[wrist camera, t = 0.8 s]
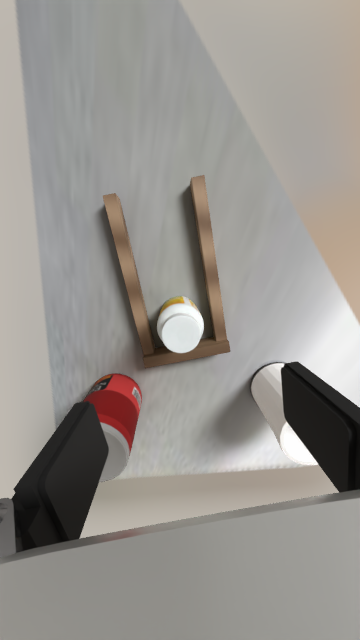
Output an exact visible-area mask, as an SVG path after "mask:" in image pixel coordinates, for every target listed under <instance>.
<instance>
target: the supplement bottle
mask: <svg viewBox="0 0 360 640" xmlns="http://www.w3.org/2000/svg"><path fill="white" fill-rule="evenodd" d="M203 330H204V322H203V318H202V316H201V314H200V312H199V311H198V309H197V307H196V305H195V304H194V303H193V302H192V301H191V300H190V299H188V298H186V297H182V296H176V297H173V298H170V299H169V300H167V301H166V302H165V303H164V305H163V306H162V308H161V311H160V315H159V318H158V322H157V331H158V334H159V337H160V338H161V340H162V341H163V343H164V345H165V346H166V347H167V348H168V349H169V350H171V351H173V352H176V353H186V352H189V351H191V350H193V349H194V348H195V347H196V346H197V345H198V343H199V341H200V338H201V336H202V334H203Z"/></svg>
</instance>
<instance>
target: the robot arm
mask: <svg viewBox="0 0 360 640" xmlns="http://www.w3.org/2000/svg"><path fill="white" fill-rule="evenodd" d="M281 382H282V397H283V411H284V417H285V419H286V421H287V423H288V424H289V425H290V427H291V428H292V429H293V431H294V432H295V433H296V435H297V436H298V437H299V439H300V440H301V441H302V443H303V444H304V445H305V447H306V448H307V449H308V451H309V452H310V453H311V455H312V456H313V458H314V459H315V460H316V462H317V463H318V464H319V466H320V467H321V468H322V470H323V471H324V472H325V474H326V475H327V476H328V478H329V479H330V480H331V482H332V483H333V484H334V486H335V487H336V488H337V490H338V491H339V492H340V493H333V494H327V495H321V496H314V497H309V498H303V499H296V500H291V501H286V502H279V503H273V504H268V505H262V506H256V507H251V508H245V509H239V510H233V511H228V512H222V513H217V514H211V515H205V516H200V517H194V518H189V519H183V520H178V521H172V522H168V523H161V524H156V525H150V526H145V527H140V528H134V529H129V530H123V531H118V532H113V533H107V534H102V535H97V536H91V537H86V538H81V539H79V538H80V535H81V532H82V529H83V526H84V523H85V520H86V518H87V515H88V512H89V509H90V506H91V503H92V500H93V497H94V494H95V492H96V488H97V486H98V483H99V480H100V477H101V474H102V471H103V468H104V466H105V463H106V460H107V457H108V453H109V447H108V444H107V441H106V438H105V435H104V432H103V429H102V426H101V423H100V420H99V418H98V415H97V412H96V409H95V406H94V404H93V403H90V402H89V401H85V402H79V403H76V404H75V405H74V406H73V407H72V409H71V410H70V412H69V413H68V414H67V416H66V417H65V419H64V420H63V421H62V423H61V424H60V425H59V427H58V428H57V430H56V431H55V432H54V434H53V435H52V437H51V438H50V439H49V441H48V442H47V443H46V445H45V446H44V448H43V449H42V451H41V452H40V453H39V455H38V456H37V457H36V459H35V460H34V461H33V463H32V464H31V466H30V467H29V469H28V470H27V471H26V473H25V474H24V475H23V477H22V478H21V479H20V481H19V483H18V484H17V485H16V487H15V488H14V491H15V494H14V496H13V498H12V499H9V498H2V499H0V640H360V408H359V407H358V406H357V405H355V404H354V403H353V402H351V401H350V400H349V399H347V398H346V397H345V396H343V395H342V394H340V393H339V392H338V391H336V390H335V389H334V388H332V387H331V386H330V385H328V384H327V383H326V382H324V381H323V380H322V379H320V378H319V377H318V376H316V375H315V374H314V373H312V372H311V371H310V370H308V369H307V368H306V367H304V366H303V365H301V364H300V363H299V362H291V363H286V364H284V367H282V368H281Z"/></svg>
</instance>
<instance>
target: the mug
mask: <svg viewBox="0 0 360 640" xmlns="http://www.w3.org/2000/svg"><path fill="white" fill-rule="evenodd" d="M284 364H286V363H281V362H275V363H270V364H267V365H265V366H263V367H262V368H260V369H259V370H258V371H257V372H256V373H255V374H254V376H253V378H252V381H251V386H250V387H251V393H252V396H253V398H254V399H255V401H256V403H257V405H258V406H259V408H260V410H261V411H262V413H263V415H264V417H265V418H266V420H267V422H268V424H269V425H270V427H271V429H272V430H273V432H274V434H275V436H276V438H277V441H278V443H279V445H280V447H281V449H282V451H283V452H284V454H285V455H286V456H287V457H288V458H289V459H291V460H292V461H294V462H296V463H300V464H303V465H317V464H318V463H317V462H316V460H315V459H314V458H313V456H312V455H311V453H310V452H309V451H308V449H307V448H306V447H305V445H304V444H303V443H302V441H301V440H300V439H299V437H298V436H297V435H296V433H295V432H294V431H293V429H292V428H291V427H290V425H289V424H288V423H287V421H286V419H285V417H284V411H283V397H282V382H281V368H282V367H284Z"/></svg>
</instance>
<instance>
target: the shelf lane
mask: <svg viewBox="0 0 360 640" xmlns="http://www.w3.org/2000/svg"><path fill="white" fill-rule="evenodd" d="M190 188H191V195H192V201H193V207H194V214H195V220H196V227H197V233H198V239H199V246H200V252H201V259H202V265H203V271H204V278H205V284H206V291H207V297H208V303H209V310H210V316H211V323H212V329H213V335H214V337H210V338H204V339H200V341H199V343H198V345H197V346H196V347H195V348H194V349H193V350H191V351H189V352H186V353H176V352H173V351H171V350H169V349H168V348H167V347H166V346H163V347H158V348H155V345H154V341H153V336H152V332H151V328H150V324H149V320H148V316H147V311H146V307H145V303H144V299H143V295H142V290H141V286H140V282H139V278H138V274H137V270H136V265H135V261H134V257H133V253H132V249H131V245H130V240H129V236H128V232H127V228H126V224H125V219H124V215H123V211H122V207H121V203H120V199H119V197H118V196H117V195H116V194H115V193H114V194H109V195H104V196H103V199H104V203H105V207H106V211H107V215H108V219H109V223H110V226H111V230H112V234H113V238H114V242H115V246H116V250H117V254H118V257H119V261H120V265H121V269H122V273H123V277H124V281H125V285H126V288H127V292H128V296H129V300H130V304H131V308H132V312H133V316H134V319H135V323H136V327H137V331H138V335H139V339H140V343H141V347H142V351H143V354H144V356H143V361H144V365H145V368H149V367H154V366H159V365H165V364H170V363H175V362H180V361H185V360H191V359H196V358H201V357H206V356H211V355H217V354H222V353H227V352H230V346H229V341H228V340H227V336H226V329H225V322H224V314H223V307H222V300H221V293H220V286H219V278H218V271H217V264H216V257H215V250H214V242H213V235H212V228H211V221H210V213H209V206H208V199H207V192H206V185H205V177H204V175H202V176H197V177H193V178H191V182H190Z"/></svg>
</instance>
